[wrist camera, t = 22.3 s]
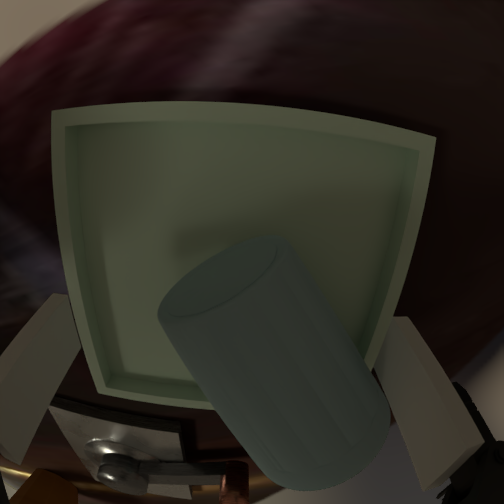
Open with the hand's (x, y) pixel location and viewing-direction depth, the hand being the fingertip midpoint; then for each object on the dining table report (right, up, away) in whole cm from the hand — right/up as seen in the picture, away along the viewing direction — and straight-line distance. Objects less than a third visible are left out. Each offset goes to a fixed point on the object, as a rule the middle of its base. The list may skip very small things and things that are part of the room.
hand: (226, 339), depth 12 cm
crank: (-6, -16, +11) cm, 21 cm away
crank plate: (-11, -17, +13) cm, 24 cm away
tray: (0, +2, +5) cm, 5 cm away
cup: (0, +3, +4) cm, 5 cm away
